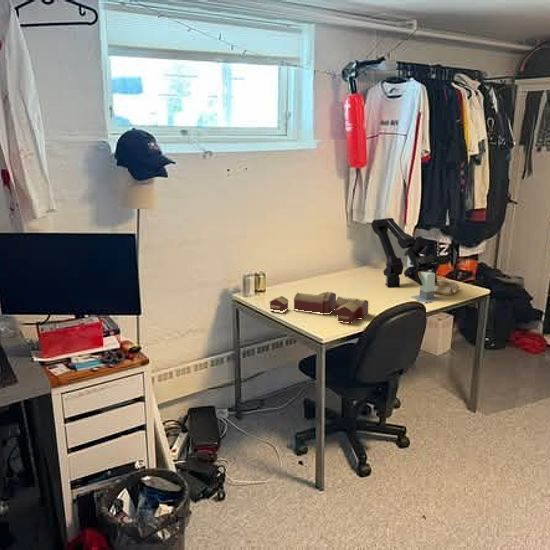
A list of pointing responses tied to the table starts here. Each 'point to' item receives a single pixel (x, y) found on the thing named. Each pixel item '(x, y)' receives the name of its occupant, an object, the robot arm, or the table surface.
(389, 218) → the robot arm
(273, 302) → the toy houses
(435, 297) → the coaster
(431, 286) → the box
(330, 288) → the table surface
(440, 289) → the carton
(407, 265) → the small box
